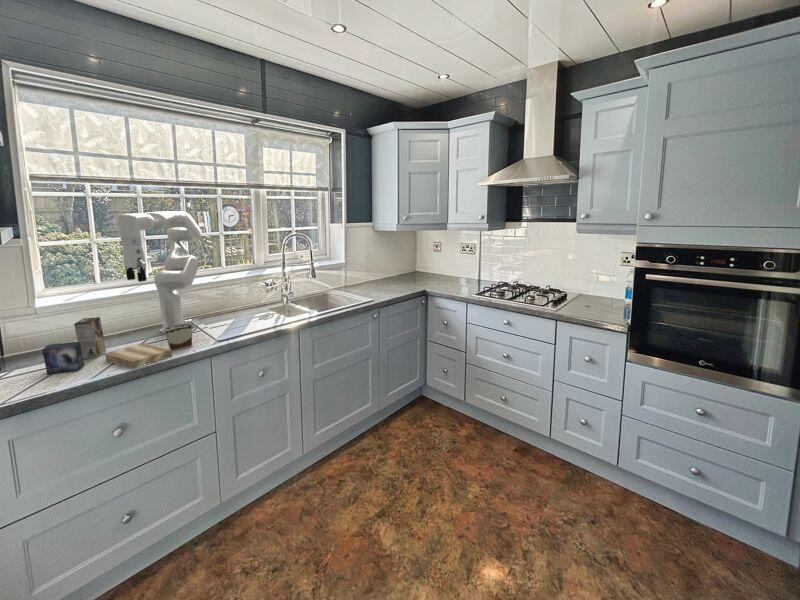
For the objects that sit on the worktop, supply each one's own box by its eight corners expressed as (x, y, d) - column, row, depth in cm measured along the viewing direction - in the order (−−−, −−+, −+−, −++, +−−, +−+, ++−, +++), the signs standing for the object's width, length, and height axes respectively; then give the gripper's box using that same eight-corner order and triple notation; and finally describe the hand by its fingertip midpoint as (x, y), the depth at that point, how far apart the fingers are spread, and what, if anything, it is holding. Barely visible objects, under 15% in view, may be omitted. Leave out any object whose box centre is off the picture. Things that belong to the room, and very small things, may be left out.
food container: (189, 342, 192) (186, 322, 190) (195, 344, 188) (192, 324, 186) (161, 349, 182) (158, 328, 180) (167, 351, 179) (164, 330, 176)
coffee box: (89, 352, 179) (83, 318, 175) (106, 351, 180) (100, 316, 177) (80, 359, 170) (73, 323, 167) (98, 358, 172) (91, 322, 168)
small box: (46, 375, 154) (40, 349, 152) (52, 369, 160) (47, 344, 158) (80, 370, 158) (75, 345, 156) (85, 365, 164) (80, 340, 162)
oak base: (145, 349, 183) (144, 342, 182) (172, 356, 173) (171, 349, 173) (106, 360, 169) (105, 353, 168) (133, 368, 160) (132, 361, 159)
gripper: (150, 242, 177) (155, 280, 180) (130, 241, 186) (136, 278, 189) (132, 243, 171) (137, 283, 174) (112, 242, 179) (118, 280, 183)
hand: (136, 280), depth 182 cm, fingers open, 9 cm apart
